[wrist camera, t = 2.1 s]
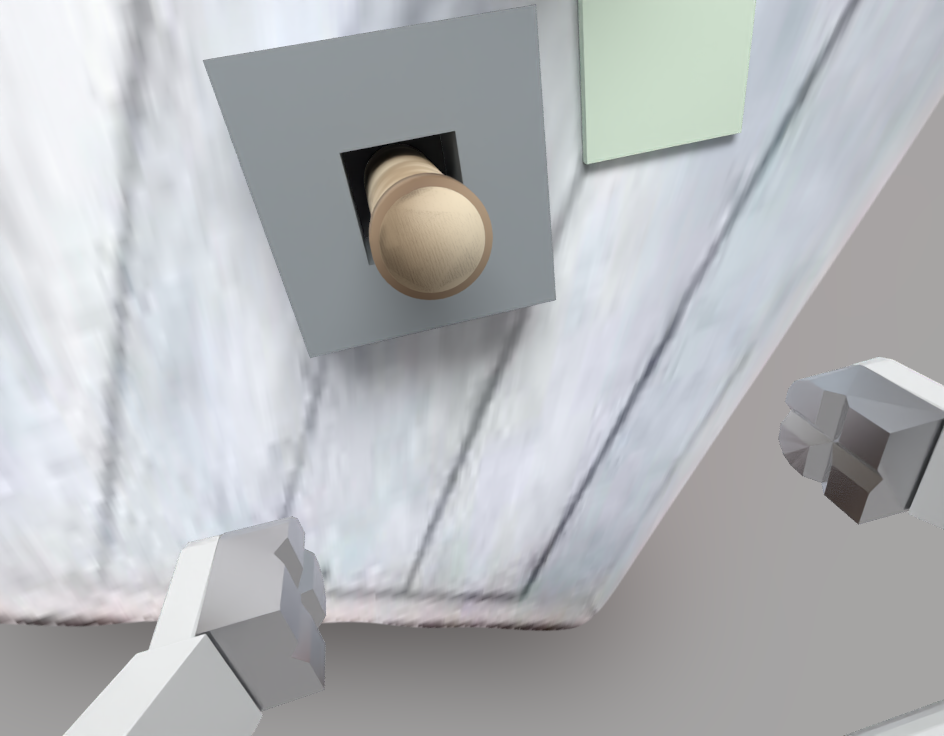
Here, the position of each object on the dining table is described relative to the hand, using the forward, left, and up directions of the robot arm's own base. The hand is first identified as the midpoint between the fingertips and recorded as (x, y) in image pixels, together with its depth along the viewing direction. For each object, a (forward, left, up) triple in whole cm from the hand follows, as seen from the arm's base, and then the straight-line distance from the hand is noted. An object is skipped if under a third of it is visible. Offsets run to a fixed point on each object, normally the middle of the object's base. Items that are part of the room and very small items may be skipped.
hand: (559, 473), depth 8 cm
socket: (0, 0, -25) cm, 25 cm away
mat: (-16, -4, -25) cm, 30 cm away
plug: (0, 0, -25) cm, 25 cm away
